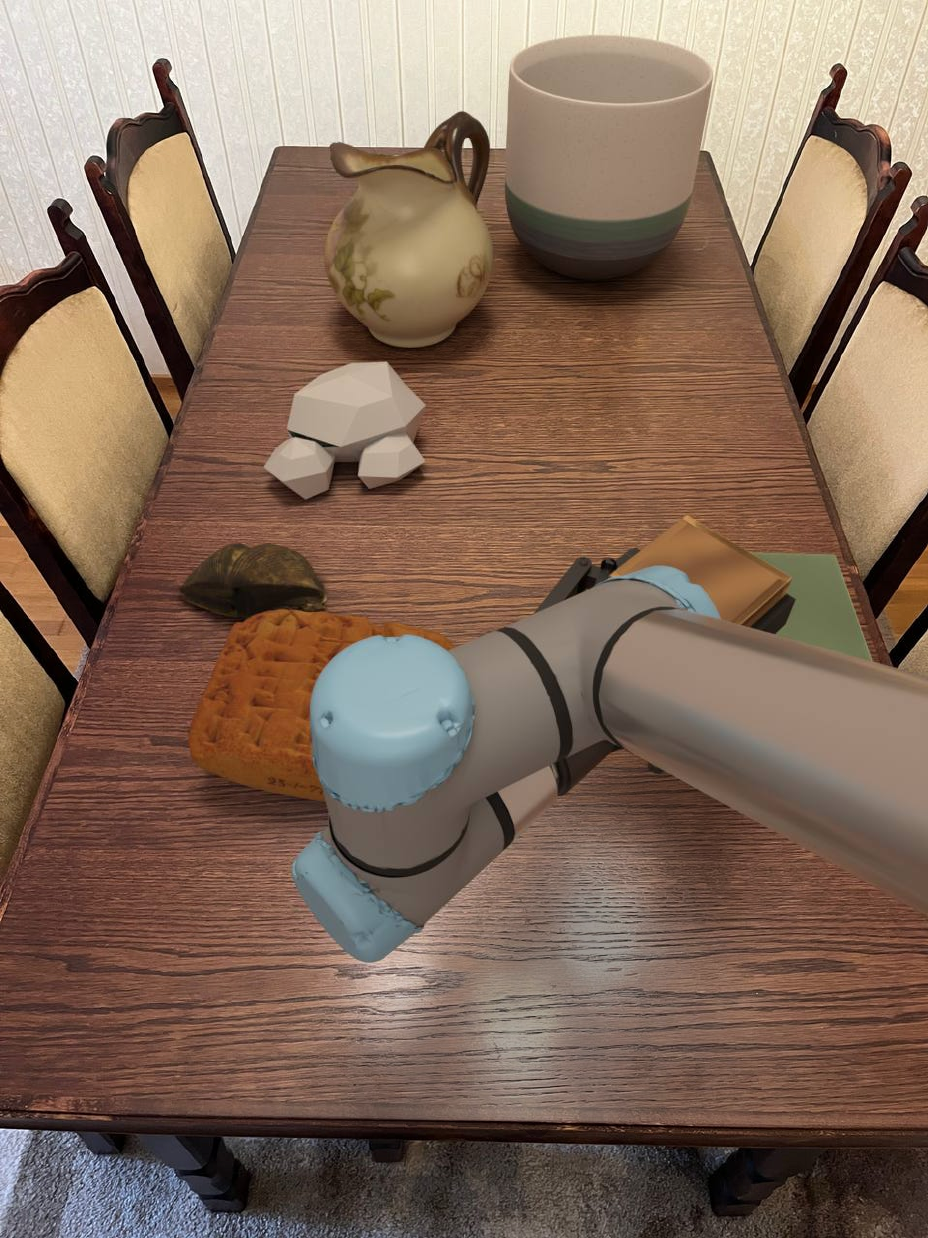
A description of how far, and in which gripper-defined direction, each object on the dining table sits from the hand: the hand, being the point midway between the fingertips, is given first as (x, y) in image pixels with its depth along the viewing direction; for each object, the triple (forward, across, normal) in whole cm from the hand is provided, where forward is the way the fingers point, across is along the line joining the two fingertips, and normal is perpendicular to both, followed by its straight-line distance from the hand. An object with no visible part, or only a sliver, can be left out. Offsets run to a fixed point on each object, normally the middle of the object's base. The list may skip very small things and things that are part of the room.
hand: (729, 574), depth 67 cm
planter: (+60, -62, -20) cm, 89 cm away
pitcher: (+29, -68, -20) cm, 77 cm away
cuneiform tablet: (-23, -21, -20) cm, 37 cm away
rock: (+3, -52, -20) cm, 56 cm away
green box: (+13, 0, -20) cm, 24 cm away
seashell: (-17, -40, -20) cm, 48 cm away
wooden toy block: (-5, 0, -6) cm, 8 cm away
